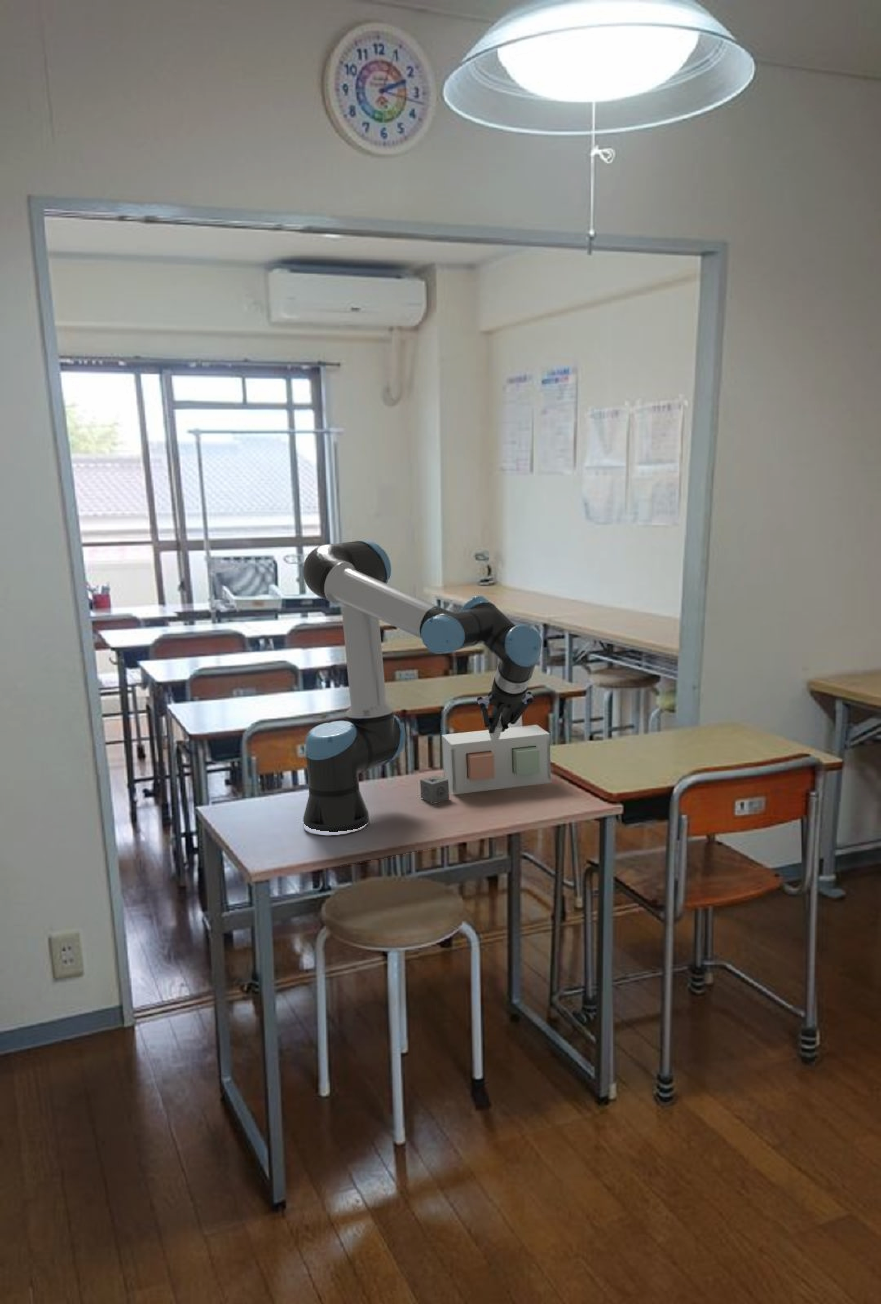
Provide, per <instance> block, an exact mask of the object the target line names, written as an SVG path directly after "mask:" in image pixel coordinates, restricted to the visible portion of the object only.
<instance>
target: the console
mask: <svg viewBox="0 0 881 1304" xmlns="http://www.w3.org/2000/svg"><path fill="white" fill-rule="evenodd" d="M441 743H442V744H441V746H442V747H441V748H442V763H443V764H442V766H443V767H442V768H443V778H444V779H447V780H448V785H449V792H451V793H452V795H461V794H470V793H478V792H485V791H491V790H492V791H494V790H501V789H509V788H516V787H517V788H518V787H519V788H520V787H526V786H534V785H535V786H536V785H540V784H541V785H542V784H550V783H552V774H551V773H552V772H551V737H550V733H549V732H548V731H546V730H545V729H543V728H542V727H541V726H539V725H538V724H532V725H522V726H520V727H511V728H508V729H505V731H504V732H501V734H500V737H499V740H498V742H495V743H492V742H491V738H490V734H489V730H488V729H486V730H476V731H467V732H457V733H448V734H447V733H446V734H441ZM528 746H535V747H536V748H537V749H539V762H540V773H533V774H525V775H516V774H515V773H514V772H513V771H512V748H519V747H528ZM483 751H490V752H491V753H492V754H493V755H494V778H491V779H483V780H475V781H471V780H470V779H469V778H468V777H467V764H466V753H475V752H483Z"/></svg>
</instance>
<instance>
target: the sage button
mask: <svg viewBox="0 0 881 1304" xmlns="http://www.w3.org/2000/svg"><path fill="white" fill-rule="evenodd" d="M512 771H513V772H514V773H515V774H516V775H525V774H533V773H540V762H539V749H537V748H536V747H535V746H528V747H519V748H512Z"/></svg>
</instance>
